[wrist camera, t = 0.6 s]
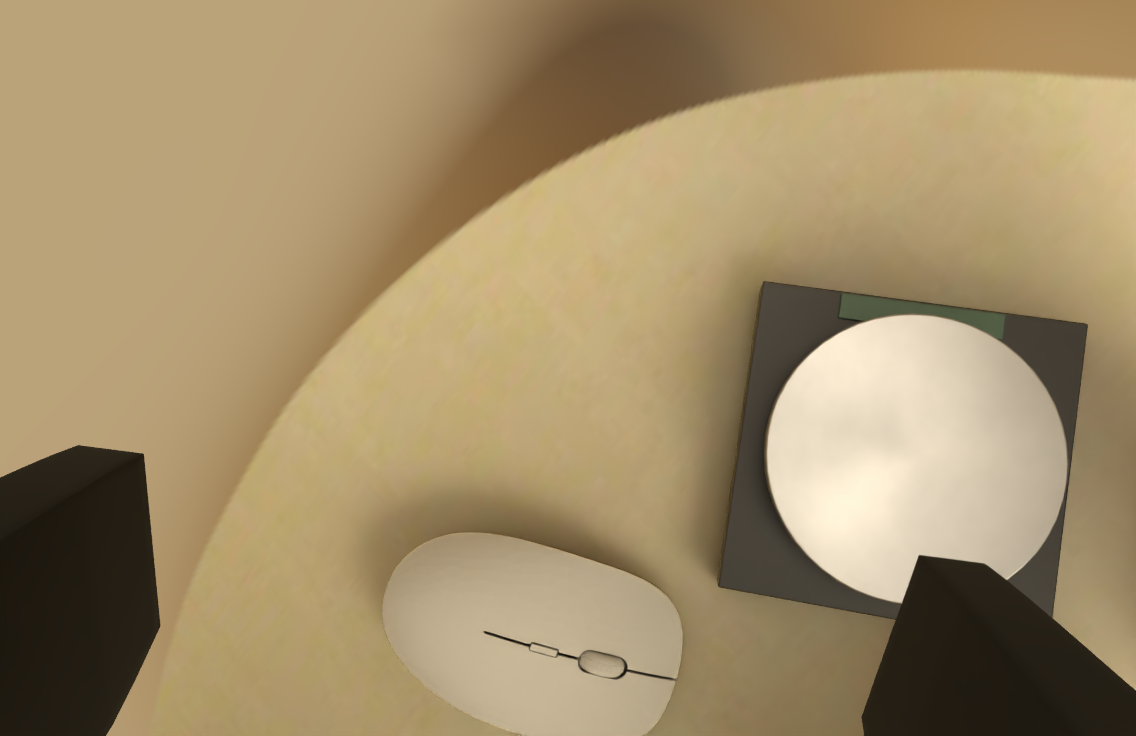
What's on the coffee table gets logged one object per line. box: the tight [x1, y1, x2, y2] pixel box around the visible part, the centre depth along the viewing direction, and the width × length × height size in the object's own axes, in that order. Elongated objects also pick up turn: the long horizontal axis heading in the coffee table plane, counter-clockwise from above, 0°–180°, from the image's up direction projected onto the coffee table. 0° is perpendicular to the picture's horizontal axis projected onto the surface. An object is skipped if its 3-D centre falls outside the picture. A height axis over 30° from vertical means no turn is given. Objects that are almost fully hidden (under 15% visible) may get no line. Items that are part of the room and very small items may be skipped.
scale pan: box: [764, 313, 1069, 604], centre depth 28 cm, size 9×9×1 cm
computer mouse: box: [382, 532, 683, 736], centre depth 30 cm, size 6×10×3 cm, turn 74°
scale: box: [717, 281, 1088, 620], centre depth 30 cm, size 10×10×2 cm
